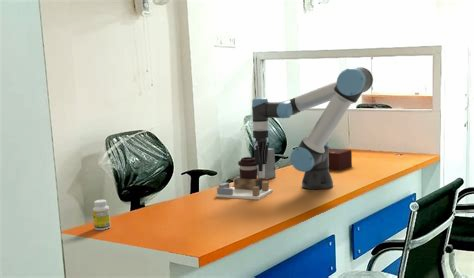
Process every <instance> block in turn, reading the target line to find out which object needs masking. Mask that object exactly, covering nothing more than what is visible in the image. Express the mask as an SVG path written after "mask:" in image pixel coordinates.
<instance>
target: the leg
mask: <svg viewBox="0 0 474 278" xmlns="http://www.w3.org/2000/svg"><path fill="white" fill-rule="evenodd" d="M235 178H236V177H235ZM233 180H234V182H233V187H234V188H235V189H251V190H252V187H254V186H258V187H259V190H261V189H262V182H263V179H261V178H257V179H241V178H240V177H237V178H236V179H234V178H233Z"/></svg>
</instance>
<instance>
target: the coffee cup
mask: <svg viewBox="0 0 474 278" xmlns="http://www.w3.org/2000/svg"><path fill="white" fill-rule="evenodd" d="M237 163H238V165H237V166H239V176H240V178H241V179H258V176H257V165H258V164H256V162H255V157H252V156H243V157H242V158H241V159H240V160H238V162H237Z"/></svg>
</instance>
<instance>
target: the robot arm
mask: <svg viewBox="0 0 474 278" xmlns="http://www.w3.org/2000/svg"><path fill="white" fill-rule="evenodd" d="M373 83H374V77H373V74H372V73H371V70H370V69H367V68H366V67H361V66H359V67H358V66H357V67H348V68H346V69H344V70H342V71H341V72H340V73H339V74H338V77H337V78H336V81H334V82H332V83H329V84H326V85H323V86H321V87H318V88H316V89H313V90H311V91H309V92H306V93H304V94H301V95H299V96H295V97H293V98H290V99H288V100H283V101H276V102H275V101H274V102H272V101H271V102H270V101H269V100H268V98H266V97H256V98H253V99H252V101H251V103H252V106H251V109H252V110H251V111H252V130H253V131H252V138H253V139H255V141H254V143H255V144H254V145H252V149H253V154H254V158H255V162H256V164H258V166H259V178H258V179H261V178H265V164H267V163H266V162H267V158H268V149H269V147H270V142H268V141H267V139H268V138H269V130H268V129H269V119H272V118H273V119H289V118H291V117H292V116H294V115H297V114H299V113H301V112H304V111H306V110H310V109H312V108H314V107H317V106H319V105H322V104H325V103H328V104H327V105H326V107H325V109H324V110H323V112H322V114H321V115H320V116H319V118H318V120H317V121H316V124H315V125H314V126H313V128H312V130H311V131H310V133H309V135H308V136H305V137H303V138H302V139H301V141H300V142H299V144H298V146H297V147H295V148H293V150H292V151H291V152H290V156H289V157H290V158H289V159H290V163H291V165H292V167H293V168H294V169H295V170H297V171H299V172H301V173H302V172H304V174H303V178H302V181H301V187H302V188H304V189H308V190H325V189H331V188H332V187H334V181H333V178H332V175H331V173H330V170H329V148H330V146H329V142H328V141H329V139H330V138H331V136H332V134H333V133H334V132H335V130H336V128H337V127H338V125H339V124H340V122H341V120H342V118H343V117H344V116H345V115H346V113H347V111H348V110H349V108H350V106H351V105H353V104H356V103H357V102H358V100H359V98H360V97H361V95H362V94H364V93H366V92H367V91H369V90H370V89H371V87H372V86H373Z"/></svg>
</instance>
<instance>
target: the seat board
mask: <svg viewBox="0 0 474 278" xmlns="http://www.w3.org/2000/svg"><path fill="white" fill-rule="evenodd" d="M269 185H270V184H269V181H262V189H261V190H259V187H258V186H254V187H252V190H251V189H235V188H234V186H230V182H223V183H220V184H218V187H217V188H216V195H215V196H216V198H228V199H229V198H230V199H231V198H232V199H243V200H244V199H245V200H261V199H262V198H265V197H266V196H267V195H270V194H271V193H273V189H270V186H269Z"/></svg>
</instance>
